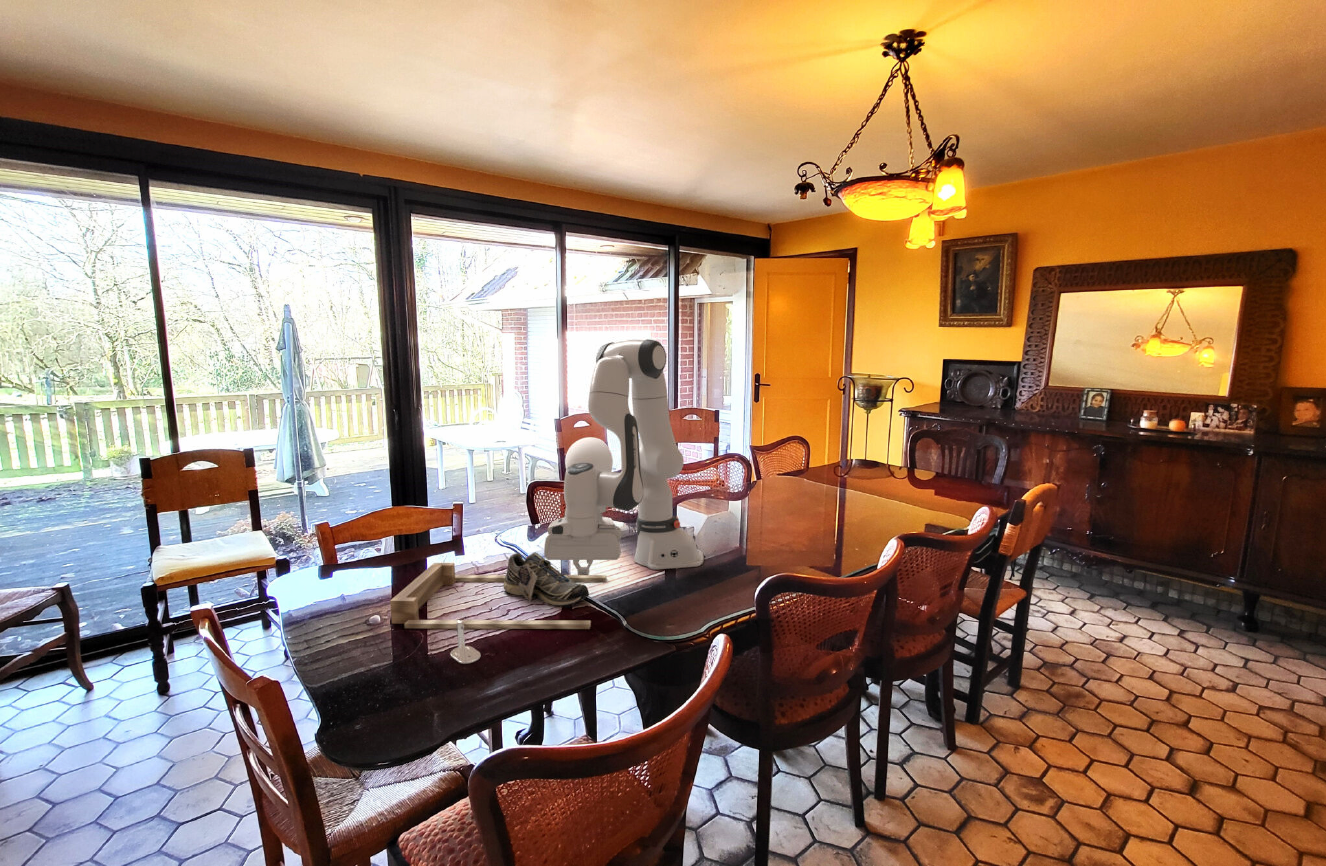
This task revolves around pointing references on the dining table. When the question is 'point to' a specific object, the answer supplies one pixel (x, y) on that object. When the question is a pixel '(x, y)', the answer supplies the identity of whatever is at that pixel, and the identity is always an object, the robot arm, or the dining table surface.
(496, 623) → the strip
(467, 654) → the white stemmed disc stand
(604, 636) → the dining table surface
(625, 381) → the robot arm
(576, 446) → the white toy figurine
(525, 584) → the running shoe
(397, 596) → the bar
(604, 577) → the lane strip right
